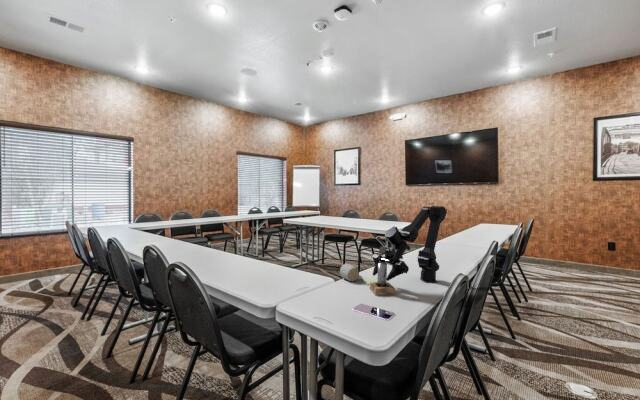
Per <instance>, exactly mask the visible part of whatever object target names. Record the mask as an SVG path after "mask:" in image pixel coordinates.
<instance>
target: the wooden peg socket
mask: <svg viewBox="0 0 640 400" xmlns="http://www.w3.org/2000/svg"><path fill="white" fill-rule="evenodd" d="M377 283H378V282H370V285H369V290H370V291H371V292H372V293H373V294H374V296H394V295H395V293H396V291H395V290H396V288H395V287H394V286H393V285H392V284H391V283H390V282H389V281H386V287H378V286H377Z"/></svg>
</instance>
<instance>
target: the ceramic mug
mask: <svg viewBox="0 0 640 400" xmlns="http://www.w3.org/2000/svg"><path fill="white" fill-rule="evenodd" d="M339 275H340V276H341V278H343V279H345V280H347V281H349V282H355V281H357V280H358V279H359V280H362V278H363V276H362V275H361V274H360V271H359V270H358V269H357V268H356V267H355V266H353V265H352V264H350V263H344V264H342V265H341V266H340V269H339Z"/></svg>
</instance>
